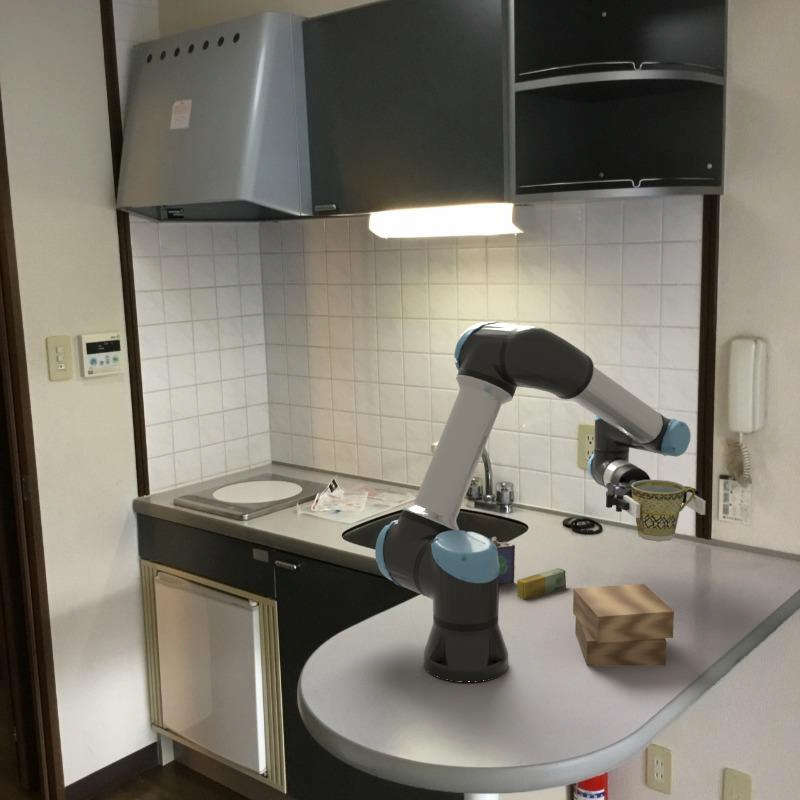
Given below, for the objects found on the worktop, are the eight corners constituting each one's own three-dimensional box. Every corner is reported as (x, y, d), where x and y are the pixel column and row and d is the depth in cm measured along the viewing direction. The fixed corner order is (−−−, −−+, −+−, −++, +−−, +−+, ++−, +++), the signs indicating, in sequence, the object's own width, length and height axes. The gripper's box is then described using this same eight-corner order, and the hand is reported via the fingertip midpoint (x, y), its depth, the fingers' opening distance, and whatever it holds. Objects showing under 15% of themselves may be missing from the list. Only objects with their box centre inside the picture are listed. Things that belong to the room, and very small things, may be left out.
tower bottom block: (586, 667, 174) (587, 641, 174) (575, 635, 188) (575, 610, 187) (665, 667, 174) (666, 641, 173) (648, 635, 188) (649, 610, 187)
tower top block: (597, 643, 172) (598, 616, 172) (573, 613, 186) (573, 588, 185) (673, 637, 174) (673, 611, 173) (643, 608, 188) (643, 583, 187)
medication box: (558, 584, 214) (558, 567, 214) (566, 588, 212) (566, 570, 212) (516, 597, 208) (516, 579, 207) (525, 600, 206) (524, 582, 205)
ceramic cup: (646, 546, 182) (648, 494, 180) (620, 531, 191) (621, 481, 190) (707, 540, 185) (709, 489, 184) (678, 525, 195) (680, 476, 193)
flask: (477, 589, 212) (477, 542, 210) (472, 585, 215) (472, 538, 213) (516, 584, 215) (516, 537, 213) (510, 579, 217) (511, 533, 216)
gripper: (681, 496, 208) (730, 525, 187) (571, 501, 204) (608, 532, 184) (683, 462, 207) (732, 487, 186) (572, 467, 203) (609, 493, 182)
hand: (671, 509), depth 185 cm, fingers closed on ceramic cup, 12 cm apart
